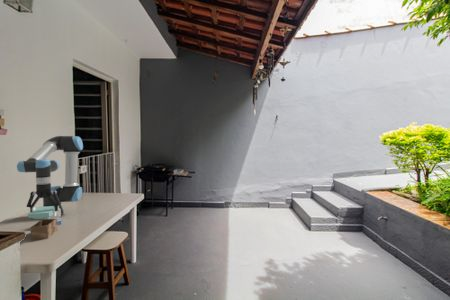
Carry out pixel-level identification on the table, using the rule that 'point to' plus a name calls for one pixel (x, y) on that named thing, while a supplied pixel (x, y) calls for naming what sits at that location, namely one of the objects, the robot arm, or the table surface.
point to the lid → (42, 212)
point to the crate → (43, 229)
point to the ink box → (56, 217)
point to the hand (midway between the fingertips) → (44, 216)
